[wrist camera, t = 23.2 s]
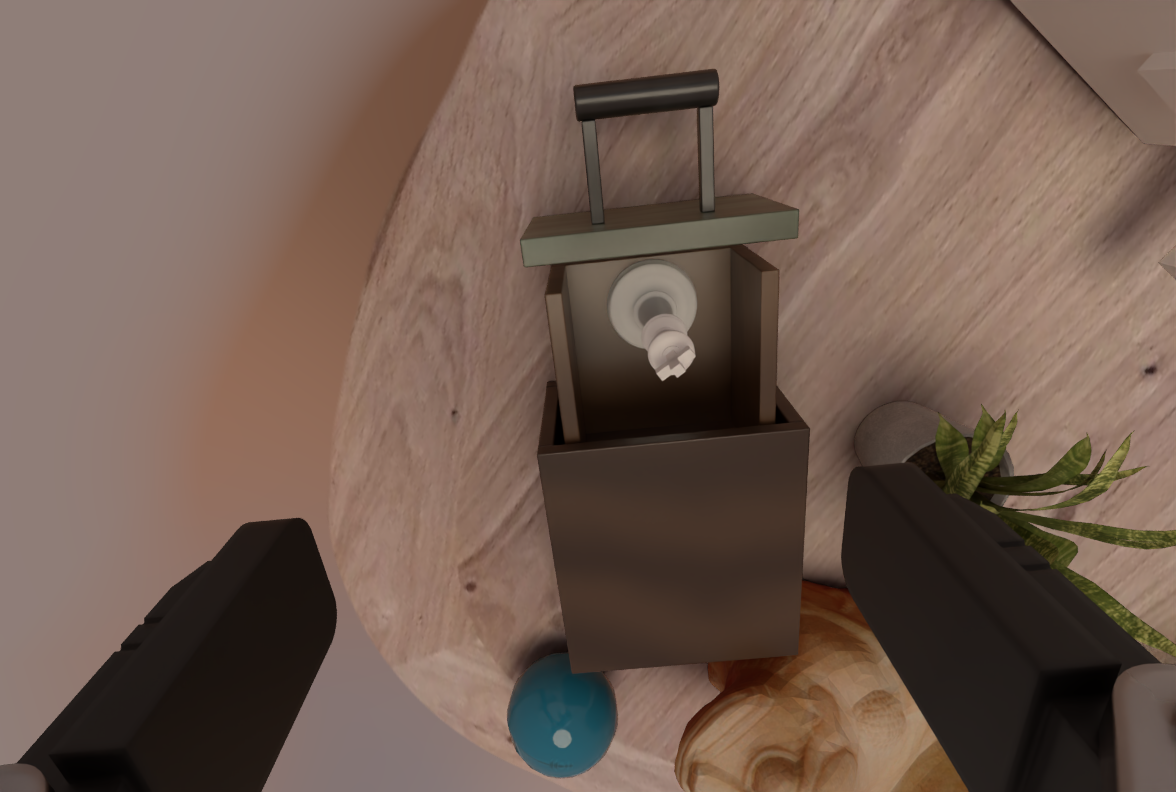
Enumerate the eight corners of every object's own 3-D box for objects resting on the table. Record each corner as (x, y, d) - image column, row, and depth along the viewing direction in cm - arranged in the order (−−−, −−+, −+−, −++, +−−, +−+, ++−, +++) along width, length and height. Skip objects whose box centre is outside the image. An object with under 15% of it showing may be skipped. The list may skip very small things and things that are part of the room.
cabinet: (547, 381, 37) (536, 454, 28) (758, 360, 36) (810, 428, 28) (573, 568, 43) (571, 674, 34) (755, 552, 42) (798, 655, 34)
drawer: (516, 99, 30) (497, 89, 23) (754, 71, 29) (805, 53, 22) (563, 438, 37) (559, 505, 31) (751, 420, 37) (789, 483, 30)
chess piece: (714, 310, 33) (764, 378, 24) (643, 363, 34) (665, 447, 25) (661, 239, 31) (692, 284, 22) (588, 298, 33) (591, 363, 23)
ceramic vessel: (680, 544, 42) (728, 745, 28) (1023, 596, 44) (1224, 806, 30) (637, 683, 47) (659, 908, 34) (944, 723, 49) (1083, 950, 36)
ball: (610, 705, 48) (615, 807, 41) (512, 700, 48) (499, 802, 41) (620, 630, 45) (627, 727, 38) (514, 625, 45) (501, 721, 37)
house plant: (1075, 379, 37) (1411, 545, 22) (946, 548, 42) (1146, 776, 27) (878, 299, 35) (1102, 423, 20) (767, 488, 40) (878, 699, 25)
